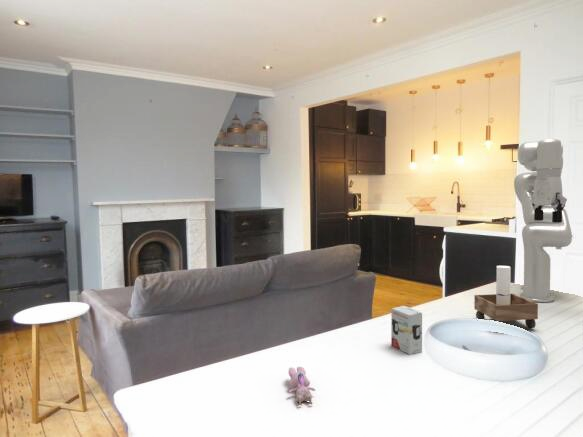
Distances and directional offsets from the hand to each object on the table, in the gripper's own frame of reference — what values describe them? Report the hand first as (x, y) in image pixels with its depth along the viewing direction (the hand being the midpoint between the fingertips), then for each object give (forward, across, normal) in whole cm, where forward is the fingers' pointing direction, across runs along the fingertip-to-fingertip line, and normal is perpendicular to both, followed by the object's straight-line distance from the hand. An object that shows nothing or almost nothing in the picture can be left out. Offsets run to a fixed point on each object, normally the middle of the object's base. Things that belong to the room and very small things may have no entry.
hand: (547, 221), depth 153 cm
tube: (+30, +9, -22) cm, 38 cm away
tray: (+34, +10, -22) cm, 42 cm away
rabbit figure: (+35, +49, -96) cm, 113 cm away
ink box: (+34, +26, -62) cm, 76 cm away
